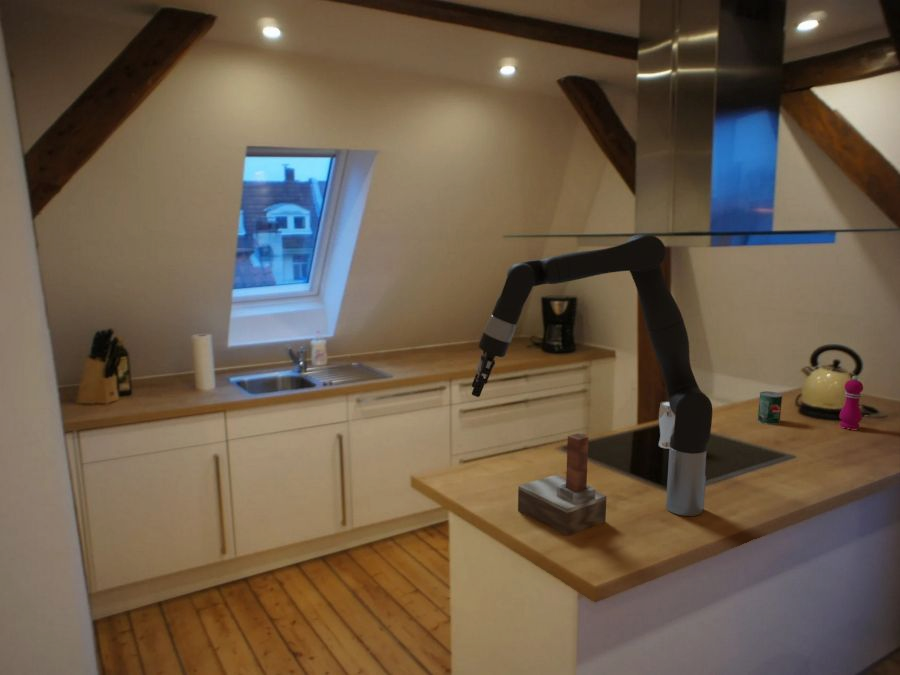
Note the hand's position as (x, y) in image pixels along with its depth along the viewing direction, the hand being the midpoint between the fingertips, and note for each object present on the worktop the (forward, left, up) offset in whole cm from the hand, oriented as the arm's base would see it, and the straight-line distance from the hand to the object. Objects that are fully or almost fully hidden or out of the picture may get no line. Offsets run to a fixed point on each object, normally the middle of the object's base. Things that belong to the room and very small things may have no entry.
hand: (475, 391), depth 179 cm
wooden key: (-14, +25, -24) cm, 37 cm away
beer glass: (-84, +1, -32) cm, 89 cm away
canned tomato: (-141, +5, -32) cm, 144 cm away
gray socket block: (-14, +20, -31) cm, 39 cm away
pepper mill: (-158, +27, -32) cm, 163 cm away
